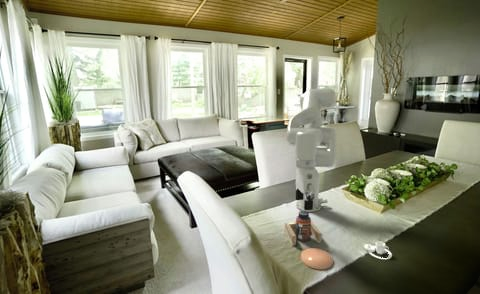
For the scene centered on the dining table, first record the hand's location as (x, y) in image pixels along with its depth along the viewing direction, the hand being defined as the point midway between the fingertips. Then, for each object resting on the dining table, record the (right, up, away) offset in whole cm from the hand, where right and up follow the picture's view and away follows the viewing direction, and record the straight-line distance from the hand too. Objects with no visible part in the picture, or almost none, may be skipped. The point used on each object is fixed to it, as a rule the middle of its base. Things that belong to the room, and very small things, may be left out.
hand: (303, 204), depth 103 cm
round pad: (+2, -18, -10) cm, 20 cm away
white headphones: (+27, -16, -4) cm, 32 cm away
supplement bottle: (+1, -15, +4) cm, 15 cm away
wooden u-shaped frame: (+1, -15, +4) cm, 15 cm away
